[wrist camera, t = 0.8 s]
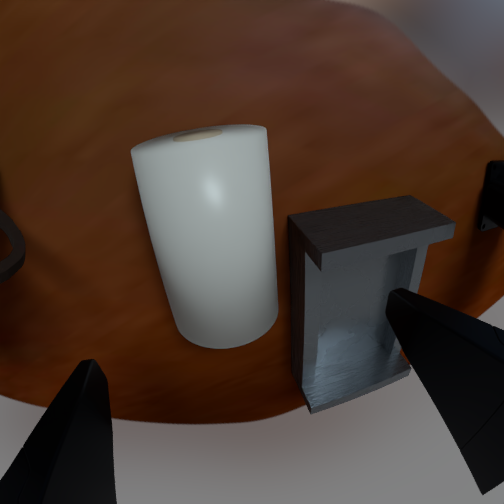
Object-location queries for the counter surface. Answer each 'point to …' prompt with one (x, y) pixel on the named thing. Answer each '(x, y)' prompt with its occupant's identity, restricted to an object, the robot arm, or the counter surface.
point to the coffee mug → (17, 256)
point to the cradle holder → (354, 293)
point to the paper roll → (212, 230)
